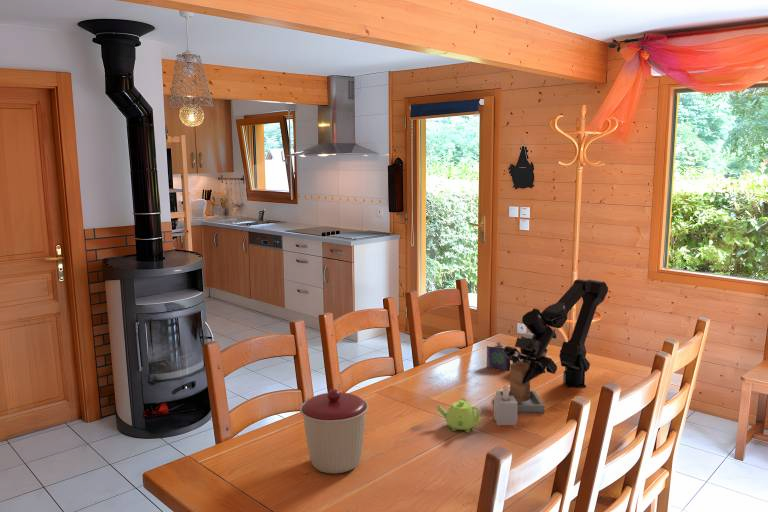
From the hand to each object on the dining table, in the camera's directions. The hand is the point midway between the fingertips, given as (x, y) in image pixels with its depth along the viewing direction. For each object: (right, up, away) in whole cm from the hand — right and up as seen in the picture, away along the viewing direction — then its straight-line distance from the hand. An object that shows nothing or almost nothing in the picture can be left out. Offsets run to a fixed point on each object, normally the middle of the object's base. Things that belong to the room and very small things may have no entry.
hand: (517, 381), depth 200 cm
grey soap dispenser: (-6, -11, -9) cm, 15 cm away
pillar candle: (+14, -3, +36) cm, 39 cm away
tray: (+1, -9, +2) cm, 9 cm away
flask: (+1, -3, +38) cm, 38 cm away
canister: (-57, -16, -35) cm, 68 cm away
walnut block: (+1, -6, +2) cm, 7 cm away
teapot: (-21, -12, -13) cm, 27 cm away
